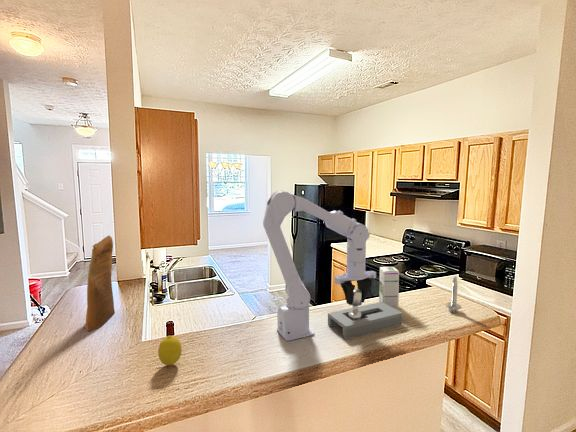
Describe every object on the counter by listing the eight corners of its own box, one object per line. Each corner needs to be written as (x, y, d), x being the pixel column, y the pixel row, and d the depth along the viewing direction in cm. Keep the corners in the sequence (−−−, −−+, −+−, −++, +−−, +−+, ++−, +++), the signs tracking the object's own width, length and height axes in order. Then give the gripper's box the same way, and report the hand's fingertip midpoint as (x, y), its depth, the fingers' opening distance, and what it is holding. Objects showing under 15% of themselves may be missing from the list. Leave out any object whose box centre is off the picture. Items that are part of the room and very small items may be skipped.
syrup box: (398, 309, 110) (400, 270, 108) (382, 309, 110) (383, 270, 109) (393, 303, 116) (395, 266, 114) (378, 303, 116) (379, 266, 114)
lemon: (174, 356, 82) (173, 328, 81) (186, 364, 78) (185, 334, 77) (155, 366, 77) (153, 336, 77) (166, 375, 74) (164, 344, 73)
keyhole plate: (345, 339, 90) (345, 326, 89) (327, 324, 99) (327, 313, 99) (402, 324, 99) (402, 312, 98) (381, 312, 108) (381, 301, 107)
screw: (452, 314, 106) (442, 309, 110) (464, 313, 107) (454, 308, 111) (454, 278, 104) (444, 274, 109) (466, 277, 105) (456, 273, 110)
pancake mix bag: (124, 307, 114) (119, 234, 110) (101, 332, 95) (93, 244, 92) (105, 309, 113) (99, 234, 109) (77, 334, 94) (69, 245, 91)
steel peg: (353, 321, 94) (353, 293, 93) (345, 316, 98) (346, 289, 97) (363, 319, 96) (364, 291, 95) (356, 314, 100) (356, 287, 99)
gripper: (366, 255, 101) (365, 294, 103) (329, 260, 95) (329, 301, 97) (381, 260, 95) (380, 302, 97) (342, 266, 89) (341, 310, 91)
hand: (355, 302), depth 96 cm, fingers closed on steel peg, 4 cm apart
